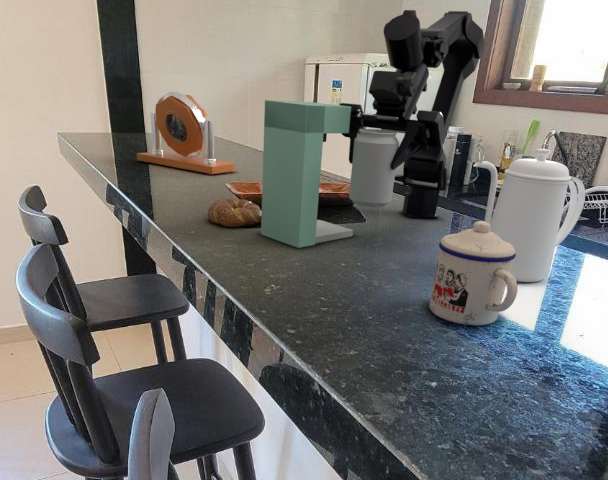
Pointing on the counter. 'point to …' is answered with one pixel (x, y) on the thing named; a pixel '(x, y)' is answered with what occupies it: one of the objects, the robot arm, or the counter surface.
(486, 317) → the teacup with lid
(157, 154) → the desk clock
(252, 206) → the pretzel
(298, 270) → the counter surface
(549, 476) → the counter surface
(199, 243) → the counter surface
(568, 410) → the counter surface
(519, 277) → the coffeepot
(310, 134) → the coffee maker
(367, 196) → the can
